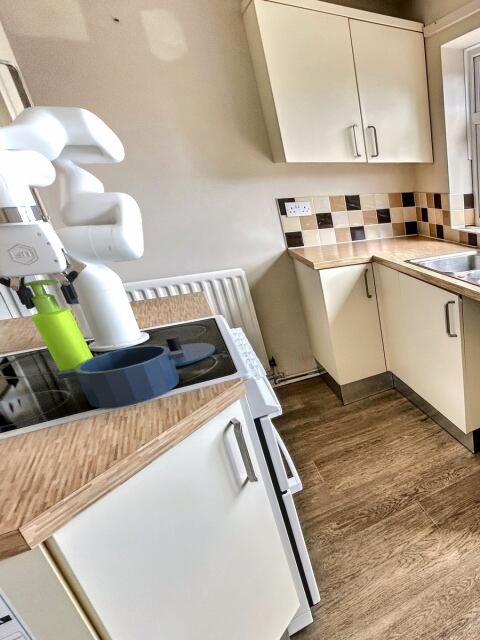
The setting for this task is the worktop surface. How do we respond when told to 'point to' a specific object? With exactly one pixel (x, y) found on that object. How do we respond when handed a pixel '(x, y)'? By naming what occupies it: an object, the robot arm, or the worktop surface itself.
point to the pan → (127, 375)
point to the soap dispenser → (58, 328)
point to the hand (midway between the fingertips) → (52, 304)
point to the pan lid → (189, 350)
